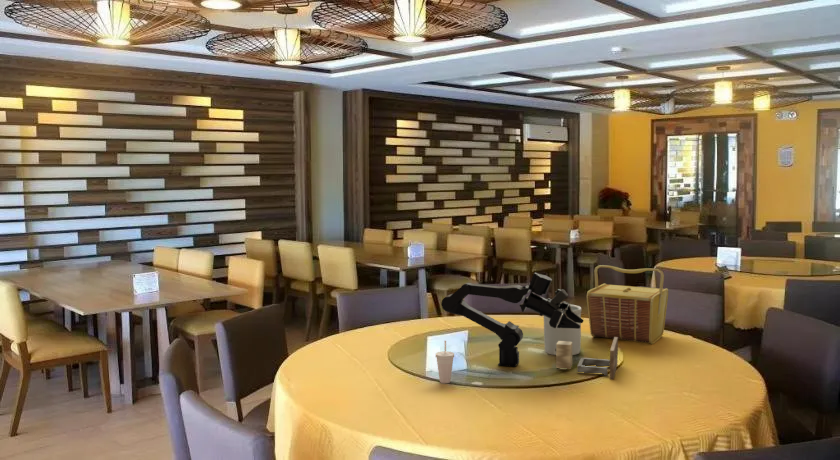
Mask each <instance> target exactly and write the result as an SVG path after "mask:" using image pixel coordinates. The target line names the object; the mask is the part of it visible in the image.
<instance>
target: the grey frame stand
mask: <svg viewBox="0 0 840 460" xmlns="http://www.w3.org/2000/svg"><path fill="white" fill-rule="evenodd" d="M618 343H619V339H618V337H614V339H613V340H612V344H611V347H610V349H609V359H604V358H591V357H580V359H579V362H578V363H577V369H576V372H584V373H602V374H604V375H603V376H608V369H609V380H614V378H615V375H616V371H617V368H616V367H618V364H619V363H618V360H619V359H618V357H619V356H618V355H619V353H618V351H619V350H618V349H619V344H618ZM617 363H618V364H617ZM585 365H596V366H585ZM597 366H610V367H597ZM584 373H583V374H584Z"/></svg>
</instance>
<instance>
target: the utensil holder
mask: <svg viewBox="0 0 840 460" xmlns="http://www.w3.org/2000/svg"><path fill="white" fill-rule="evenodd" d="M569 305H570V307H571V310H572V311H573V312H574V313H575V314H576V315H578V316H579V317H580V318H581V319H582V316H581V315H582V307H581V306H580V305H575V304H571V303H569ZM569 305H568V306H569ZM567 308H568V307H567ZM549 321H550V318H548V317H546V316H544V315H543V341H544V343H543V344H544V352H545V353H546V354H549V355H553V356H556V351H555V348H556V344H557V342H558V341H568V342H572V356H575V355H578V354H580V353H581V344H582V343H581V340H582V331H581V330H582V327H581V325H582V323H577V322H576V323H577V324H579V325H580V328H579V329H575V328H557V326H558V324H557V326H556V328H553V327H551V326H550V324H549Z"/></svg>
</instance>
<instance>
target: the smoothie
mask: <svg viewBox="0 0 840 460" xmlns="http://www.w3.org/2000/svg"><path fill="white" fill-rule="evenodd" d="M435 358H436V363H437V364H436V365H437V371H438V378H439V379H438V380H439V383H441V384H450V383H451V380H452V372H453V364H454V358H455V353H454V352H452V351H447V340H444V350H443V351H438V352H436V353H435Z"/></svg>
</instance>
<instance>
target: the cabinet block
mask: <svg viewBox="0 0 840 460" xmlns="http://www.w3.org/2000/svg"><path fill="white" fill-rule="evenodd" d="M555 351H556V355H555V356H556V357H555V359H556V361H555V363H556V365H555V366H556V367H555V369H556V368H567V369H572V368H571V366H572V367H573V355H572V342H568V341H558V342H557V344H556V348H555Z"/></svg>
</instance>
